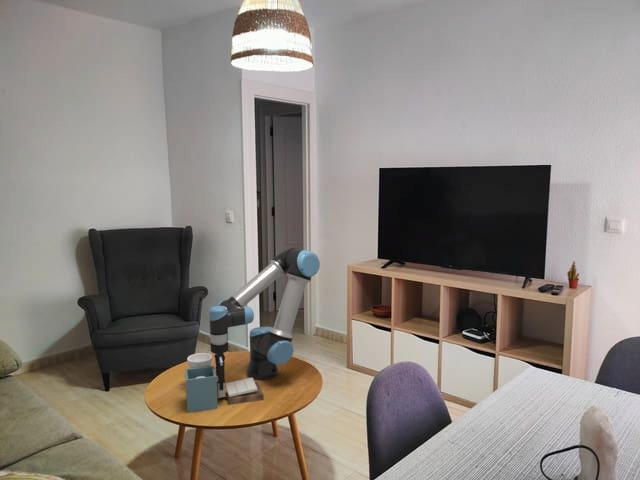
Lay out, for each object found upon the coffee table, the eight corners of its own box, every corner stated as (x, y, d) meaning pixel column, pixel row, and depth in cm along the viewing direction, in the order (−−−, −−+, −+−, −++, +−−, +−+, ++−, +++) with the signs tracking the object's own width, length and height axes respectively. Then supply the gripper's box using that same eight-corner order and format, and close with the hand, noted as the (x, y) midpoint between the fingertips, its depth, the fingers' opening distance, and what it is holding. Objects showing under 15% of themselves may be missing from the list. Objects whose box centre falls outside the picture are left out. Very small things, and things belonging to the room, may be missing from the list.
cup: (183, 389, 225) (181, 359, 223) (197, 380, 235) (196, 351, 234) (204, 393, 221) (202, 363, 219) (217, 383, 231) (217, 354, 229)
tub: (214, 396, 218) (213, 365, 217) (217, 408, 207) (216, 376, 205) (186, 400, 215) (185, 369, 213) (187, 412, 204) (186, 380, 202)
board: (257, 386, 228) (257, 381, 228) (263, 399, 215) (263, 394, 215) (224, 391, 224) (224, 385, 223) (228, 404, 210) (228, 399, 210)
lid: (253, 382, 226) (251, 370, 225) (258, 393, 215) (256, 380, 214) (215, 390, 222) (213, 378, 221) (218, 403, 210) (216, 389, 209)
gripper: (208, 336, 221) (210, 386, 224) (212, 350, 203) (214, 404, 206) (225, 334, 223) (226, 383, 226) (230, 348, 205) (232, 401, 208)
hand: (220, 393), depth 216 cm, fingers open, 5 cm apart
